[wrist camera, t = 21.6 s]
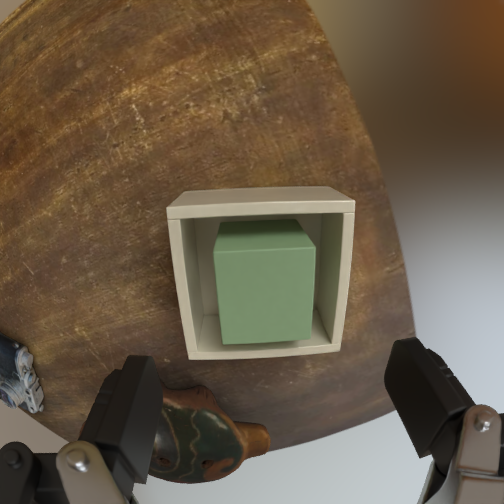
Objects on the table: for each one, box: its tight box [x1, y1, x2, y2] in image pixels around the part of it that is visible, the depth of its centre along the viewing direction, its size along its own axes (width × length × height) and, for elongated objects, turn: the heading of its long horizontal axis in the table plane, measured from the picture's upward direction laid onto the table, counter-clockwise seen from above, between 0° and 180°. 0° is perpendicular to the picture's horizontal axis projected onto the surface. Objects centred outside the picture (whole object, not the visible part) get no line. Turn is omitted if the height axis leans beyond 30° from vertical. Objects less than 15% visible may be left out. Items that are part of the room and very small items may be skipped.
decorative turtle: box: [80, 379, 271, 484], centre depth 20 cm, size 10×15×8 cm, turn 81°
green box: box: [213, 219, 316, 345], centre depth 16 cm, size 5×4×5 cm
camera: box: [0, 333, 44, 413], centre depth 21 cm, size 5×10×4 cm, turn 162°
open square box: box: [166, 186, 355, 360], centre depth 17 cm, size 9×9×5 cm
